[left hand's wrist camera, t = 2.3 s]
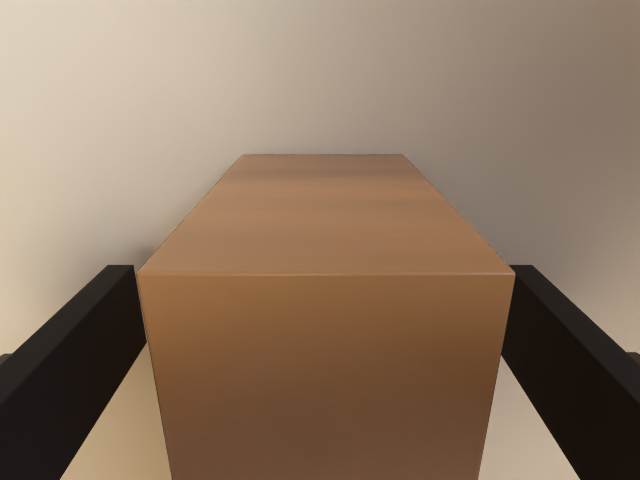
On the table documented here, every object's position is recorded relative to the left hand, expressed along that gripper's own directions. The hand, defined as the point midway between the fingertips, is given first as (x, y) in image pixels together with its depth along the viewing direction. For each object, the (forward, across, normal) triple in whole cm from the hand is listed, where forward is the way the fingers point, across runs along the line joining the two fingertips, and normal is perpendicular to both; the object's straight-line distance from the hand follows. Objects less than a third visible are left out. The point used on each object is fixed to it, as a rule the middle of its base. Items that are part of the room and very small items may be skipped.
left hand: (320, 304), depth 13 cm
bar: (+2, 0, -7) cm, 7 cm away
